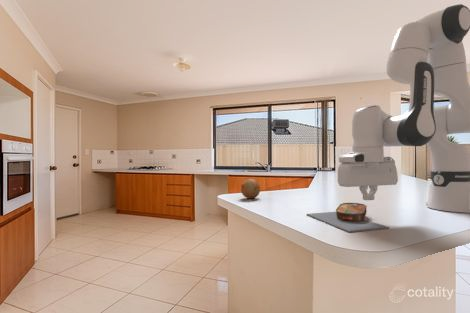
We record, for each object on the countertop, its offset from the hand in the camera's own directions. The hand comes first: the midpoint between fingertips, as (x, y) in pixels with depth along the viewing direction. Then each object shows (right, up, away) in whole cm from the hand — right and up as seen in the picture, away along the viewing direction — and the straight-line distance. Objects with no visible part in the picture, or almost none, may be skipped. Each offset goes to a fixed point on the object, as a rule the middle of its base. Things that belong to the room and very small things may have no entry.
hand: (368, 200), depth 80 cm
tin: (0, -5, +1) cm, 5 cm away
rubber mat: (-9, -7, -1) cm, 11 cm away
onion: (-35, -8, +47) cm, 59 cm away
